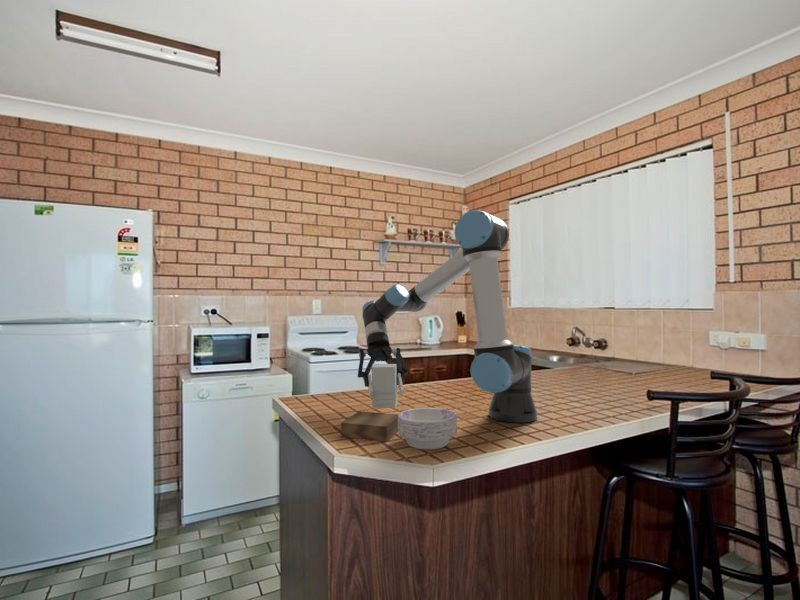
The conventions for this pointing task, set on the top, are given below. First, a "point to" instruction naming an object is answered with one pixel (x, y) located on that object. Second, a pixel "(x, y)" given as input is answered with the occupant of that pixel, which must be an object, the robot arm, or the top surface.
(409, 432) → the paper bowls
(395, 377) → the supplement box
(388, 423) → the block
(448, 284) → the robot arm
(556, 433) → the top surface
